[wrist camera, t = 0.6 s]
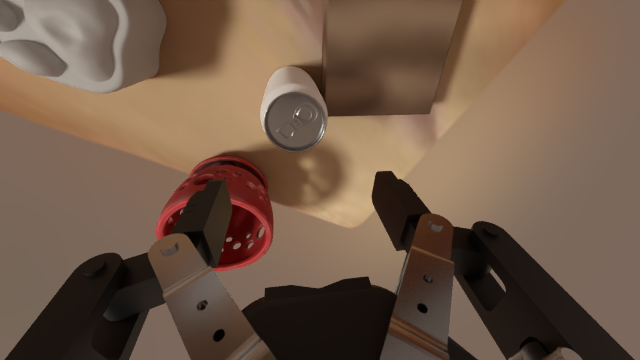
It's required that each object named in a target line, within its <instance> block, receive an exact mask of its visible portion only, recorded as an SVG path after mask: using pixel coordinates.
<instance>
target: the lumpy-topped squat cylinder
mask: <svg viewBox="0 0 640 360" xmlns="http://www.w3.org/2000/svg"><path fill="white" fill-rule="evenodd" d="M165 30H166V15H165V12H164V9H163V7H162V5H161V4H160V2H159V0H0V56H1V57H2V58H4V59H6V60H8V61H9V62H11V63H12V64H13V65H15V66H16V67H18V68H20V69H22V70H24V71H27V72H29V73H32V74H36V75H41V76H43V77H46V78H48V79H51V80H54V81H57V82H60V83H63V84H66V85H69V86H72V87H75V88H78V89H82V90H85V91H89V92H94V93H111V92H115V91H118V90H120V89H122V88H125V87H128V86H131V85H133V84H136V83H138V82H141V81H143V80H146V79H149V78H151V77H153V76H154V75H156V73H157V72H158V70H159V65H160V44H161V41H162V38H163V36H164V33H165Z"/></svg>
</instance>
